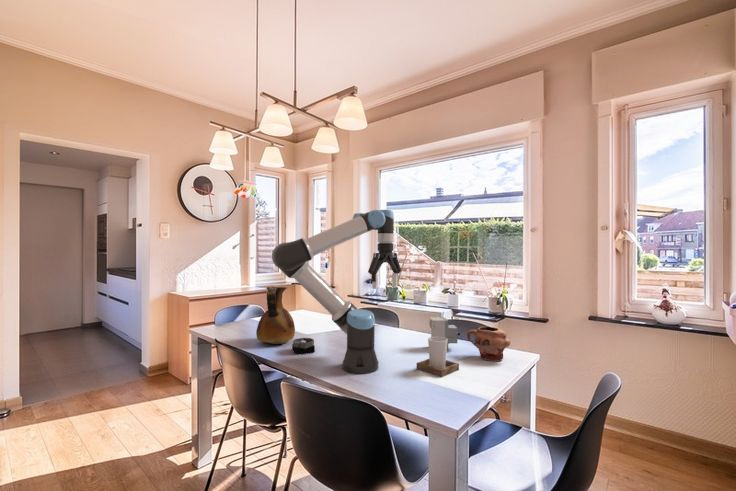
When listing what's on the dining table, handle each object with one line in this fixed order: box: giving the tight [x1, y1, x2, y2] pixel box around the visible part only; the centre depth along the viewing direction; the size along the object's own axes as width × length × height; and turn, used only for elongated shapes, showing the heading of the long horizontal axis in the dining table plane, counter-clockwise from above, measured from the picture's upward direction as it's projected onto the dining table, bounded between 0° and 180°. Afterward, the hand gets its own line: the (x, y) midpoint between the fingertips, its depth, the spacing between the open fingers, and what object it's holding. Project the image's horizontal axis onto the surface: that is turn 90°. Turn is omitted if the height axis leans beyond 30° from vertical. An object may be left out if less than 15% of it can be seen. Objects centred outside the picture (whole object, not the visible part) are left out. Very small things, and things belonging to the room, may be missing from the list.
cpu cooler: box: [291, 337, 316, 355], centre depth 169 cm, size 10×6×10 cm
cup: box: [427, 336, 448, 369], centre depth 144 cm, size 8×8×12 cm
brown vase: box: [255, 285, 296, 345], centre depth 184 cm, size 20×20×30 cm
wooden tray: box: [416, 358, 460, 378], centre depth 144 cm, size 12×12×3 cm
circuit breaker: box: [428, 316, 461, 352], centre depth 175 cm, size 8×14×15 cm, turn 89°
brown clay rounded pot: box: [466, 326, 511, 362], centre depth 160 cm, size 20×12×14 cm, turn 56°
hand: (385, 287), depth 164 cm, fingers open, 13 cm apart
